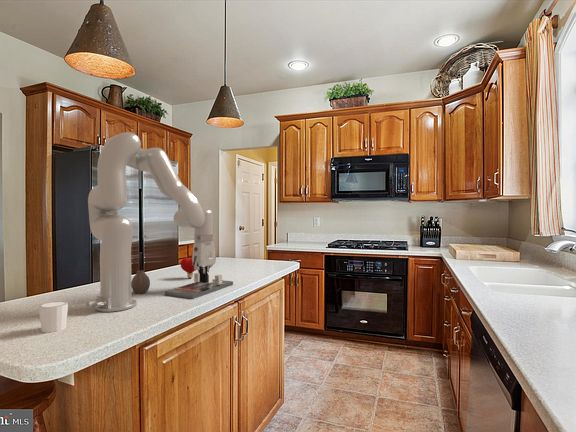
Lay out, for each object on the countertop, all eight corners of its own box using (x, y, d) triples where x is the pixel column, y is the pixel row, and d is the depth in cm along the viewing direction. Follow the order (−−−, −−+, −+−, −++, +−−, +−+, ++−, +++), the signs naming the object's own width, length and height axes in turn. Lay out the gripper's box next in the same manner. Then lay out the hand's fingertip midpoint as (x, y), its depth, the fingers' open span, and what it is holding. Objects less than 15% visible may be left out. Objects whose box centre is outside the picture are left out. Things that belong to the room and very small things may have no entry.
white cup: (73, 324, 97) (73, 300, 97) (58, 333, 91) (58, 307, 90) (49, 324, 97) (49, 300, 97) (32, 333, 90) (32, 307, 90)
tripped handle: (208, 283, 143) (208, 274, 143) (205, 282, 144) (205, 274, 144) (212, 282, 145) (212, 273, 145) (208, 281, 146) (208, 273, 146)
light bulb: (202, 277, 166) (201, 256, 166) (196, 280, 159) (196, 259, 159) (183, 276, 167) (183, 256, 167) (177, 279, 160) (177, 258, 160)
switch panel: (193, 299, 125) (192, 284, 125) (164, 295, 131) (164, 280, 131) (233, 284, 149) (233, 272, 148) (207, 282, 155) (207, 269, 154)
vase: (150, 293, 133) (149, 271, 133) (130, 295, 131) (130, 273, 131) (150, 289, 140) (150, 268, 140) (131, 291, 137) (131, 270, 137)
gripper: (198, 240, 133) (198, 286, 133) (221, 237, 146) (221, 279, 146) (184, 239, 136) (184, 285, 136) (207, 237, 149) (208, 278, 150)
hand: (203, 282), depth 141 cm, fingers closed
